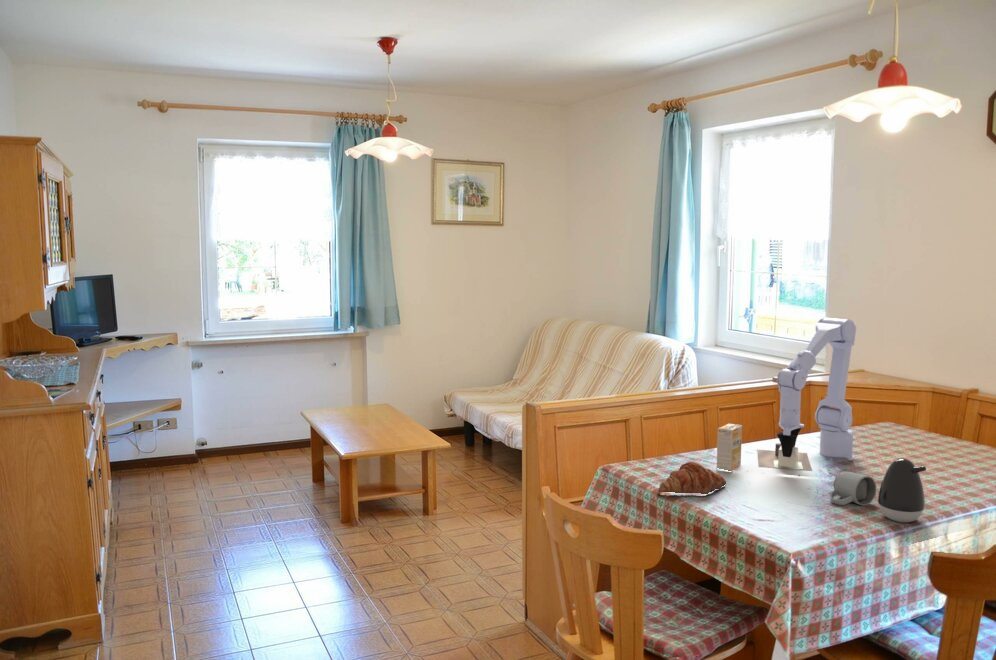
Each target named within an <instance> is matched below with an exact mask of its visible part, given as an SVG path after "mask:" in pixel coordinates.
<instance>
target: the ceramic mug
mask: <svg viewBox="0 0 996 660" xmlns="http://www.w3.org/2000/svg"><path fill="white" fill-rule="evenodd" d="M876 493H877V483H876V481H875V480H874V478H873V477H871V476H869V475H865V474H861V473H858V472H857V473H856V472H853V471H841V472H840V473H838V474H837V475H836V477H835V479H834V482H833V490H832V491H831V492H830V493H829V498H830V501H831V503H833V504H834V503H835V504H834V505H837V504H838V505H837V506H842V505H848V504H849V503H854V504H857V505H860V506H868V505H870V504H871V503H872V502H873V501H874V499H875V497H876ZM836 496H838V497H840V499H835V497H836Z"/></svg>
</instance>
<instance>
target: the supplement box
mask: <svg viewBox="0 0 996 660" xmlns="http://www.w3.org/2000/svg"><path fill="white" fill-rule="evenodd" d="M742 435H743V425H741V424H734V423H726V424H724V425H722V426H720V427H717V438H716V439H717V442H716V445H717V446H716V469H717V468H719V469H724V470H728V471H732V470H735V469H736V468H738V467H739V466H741V464H742V438H743V437H742Z"/></svg>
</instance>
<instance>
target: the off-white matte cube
mask: <svg viewBox="0 0 996 660" xmlns="http://www.w3.org/2000/svg"><path fill="white" fill-rule="evenodd" d="M798 453H799V447H796V446H795V447H793V450H792V455H791V457H783V453H782V447H781V446H780V448H779V454H778V466H784V467H792V468H796V466H797V464H798Z"/></svg>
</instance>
